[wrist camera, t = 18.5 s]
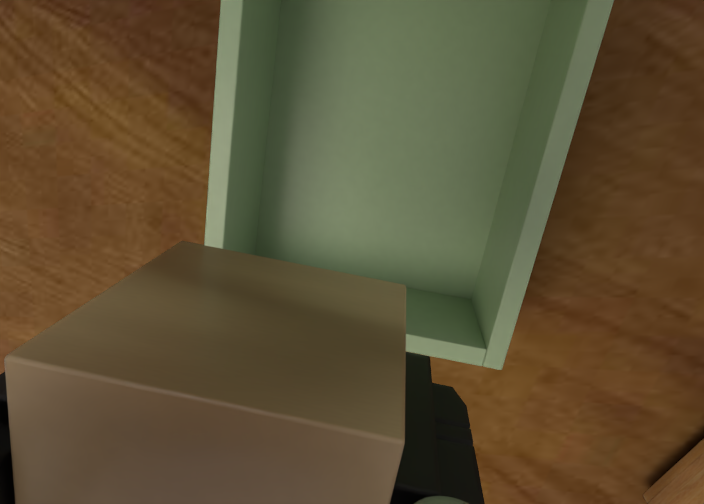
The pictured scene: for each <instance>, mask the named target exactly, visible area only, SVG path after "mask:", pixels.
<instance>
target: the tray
mask: <svg viewBox="0 0 704 504" xmlns="http://www.w3.org/2000/svg"><path fill="white" fill-rule="evenodd" d="M643 497H644V499H645V501H646V502H647V503H648V504H704V439H702V440H701V441H700V442H699V443H698V444H697V445H696V446H695V447H694V448H693V449H692V450H691V451H689V452H688V453H687V454H686V455H685V456H684V457H683V458H682V459H681V460H680V461H679V462H677V463H676V464H675V465H674V466H673V467H672V468H671V469H670V470H669V471H668V472H666V473H665V474H664V475H663V476H662V477H661V478H660V479H659V480H658V481H657V482H656V483H654V484H653V485H652V486H651V487H650V488H649V489H648V490H647V491H646V492H645V493H644V494H643Z"/></svg>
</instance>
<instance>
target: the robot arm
mask: <svg viewBox="0 0 704 504" xmlns="http://www.w3.org/2000/svg"><path fill="white" fill-rule="evenodd" d="M469 428H470V423H469V418H468V413H467V407H466V405H465V403H464V402H463V401H462V399H461V398H460V397H459V395H458V394H457V393H456V391H455V390H454V389H453V387H449V386H445V385H440V384H435V383H432V378H431V366H430V357H429V356H425V355H420V354H415V353H410V352H406V376H405V445H404V449H403V453H402V457H401V461H400V465H399V469H398V473H397V477H396V481H395V485H394V489H393V493H392V497H391V501H390V504H484V498H483V493H482V488H481V482H480V477H479V471H478V466H477V461H476V455H475V450H474V446H473V439H472V434H471V429H469ZM0 504H15V496H14V483H13V469H12V456H11V443H10V429H9V416H8V402H7V389H6V376H5V372H4V373H2V374H1V375H0Z"/></svg>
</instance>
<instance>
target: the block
mask: <svg viewBox="0 0 704 504" xmlns="http://www.w3.org/2000/svg"><path fill="white" fill-rule="evenodd" d="M4 362H5V376H6V389H7V402H8V416H9V429H10V443H11V456H12V469H13V483H14V496H15V504H390V501H391V497H392V493H393V489H394V485H395V481H396V477H397V473H398V469H399V465H400V461H401V457H402V453H403V449H404V445H405V376H406V286H405V285H404V284H399V283H393V282H388V281H383V280H378V279H373V278H368V277H363V276H358V275H353V274H348V273H343V272H338V271H333V270H327V269H322V268H317V267H312V266H307V265H302V264H297V263H292V262H287V261H282V260H277V259H272V258H267V257H262V256H256V255H251V254H246V253H241V252H236V251H231V250H226V249H221V248H216V247H211V246H206V245H201V244H196V243H191V242H185V241H181V242H179V243H178V244H176V245H175V246H173V247H171V248H170V249H168V250H167V251H165V252H164V253H162V254H161V255H159V256H158V257H156V258H155V259H153V260H152V261H150V262H149V263H147V264H145V265H144V266H142V267H141V268H139V269H138V270H136V271H135V272H133V273H132V274H130V275H129V276H127V277H126V278H124V279H122V280H121V281H119V282H118V283H116V284H115V285H113V286H112V287H110V288H109V289H107V290H106V291H104V292H103V293H101V294H100V295H98V296H96V297H95V298H93V299H92V300H90V301H89V302H87V303H86V304H84V305H83V306H81V307H80V308H78V309H77V310H75V311H73V312H72V313H70V314H69V315H67V316H66V317H64V318H63V319H61V320H60V321H58V322H57V323H55V324H54V325H52V326H51V327H49V328H47V329H46V330H44V331H43V332H41V333H40V334H38V335H37V336H35V337H34V338H32V339H31V340H29V341H28V342H26V343H24V344H23V345H21V346H20V347H18V348H17V349H15V350H14V351H12V352H11V353H9V354H8V355H7V356H6V357H5V360H4Z"/></svg>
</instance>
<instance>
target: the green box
mask: <svg viewBox="0 0 704 504" xmlns="http://www.w3.org/2000/svg"><path fill="white" fill-rule="evenodd" d="M613 2H614V0H221V6H220V21H219V36H218V51H217V65H216V80H215V95H214V109H213V124H212V139H211V153H210V168H209V183H208V198H207V212H206V227H205V242H204V245H206V246H211V247H216V248H221V249H226V250H231V251H236V252H241V253H246V254H251V255H256V256H262V257H267V258H272V259H277V260H282V261H287V262H292V263H297V264H302V265H307V266H312V267H317V268H322V269H327V270H333V271H338V272H343V273H348V274H353V275H358V276H363V277H368V278H373V279H378V280H383V281H388V282H393V283H399V284H404V285H405V286H406V351H408V352H413V353H418V354H423V355H428V356H433V357H438V358H443V359H448V360H453V361H458V362H463V363H468V364H473V365H478V366H484V367H489V368H494V369H499V370H502V367H503V364H504V361H505V357H506V354H507V351H508V348H509V344H510V341H511V338H512V334H513V331H514V328H515V325H516V321H517V318H518V315H519V311H520V308H521V305H522V301H523V298H524V295H525V292H526V288H527V285H528V282H529V278H530V275H531V272H532V269H533V265H534V262H535V259H536V255H537V252H538V249H539V245H540V242H541V239H542V236H543V232H544V229H545V226H546V222H547V219H548V216H549V213H550V209H551V206H552V203H553V199H554V196H555V193H556V189H557V186H558V183H559V180H560V176H561V173H562V170H563V166H564V163H565V160H566V157H567V153H568V150H569V147H570V143H571V140H572V137H573V134H574V130H575V127H576V124H577V120H578V117H579V114H580V110H581V107H582V104H583V101H584V97H585V94H586V91H587V87H588V84H589V81H590V78H591V74H592V71H593V68H594V64H595V61H596V58H597V54H598V51H599V48H600V45H601V41H602V38H603V35H604V31H605V28H606V25H607V22H608V18H609V15H610V12H611V8H612V5H613Z"/></svg>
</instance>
